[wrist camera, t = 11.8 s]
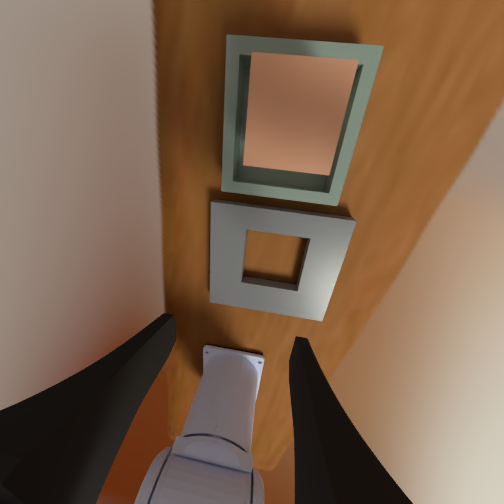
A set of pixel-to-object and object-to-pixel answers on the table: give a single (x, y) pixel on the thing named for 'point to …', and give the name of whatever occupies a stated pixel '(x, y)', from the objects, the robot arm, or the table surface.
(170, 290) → the table surface
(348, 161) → the tray
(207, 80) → the table surface
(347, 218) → the holder board
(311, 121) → the block
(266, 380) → the table surface
